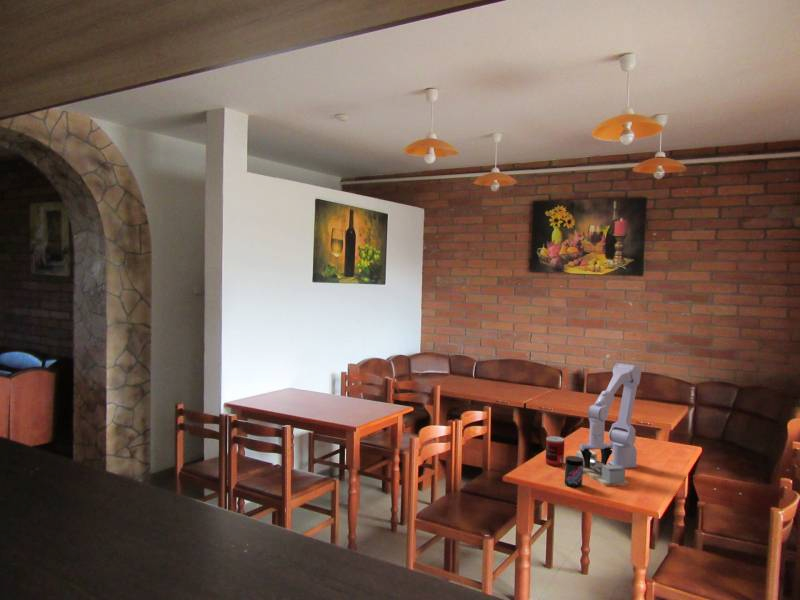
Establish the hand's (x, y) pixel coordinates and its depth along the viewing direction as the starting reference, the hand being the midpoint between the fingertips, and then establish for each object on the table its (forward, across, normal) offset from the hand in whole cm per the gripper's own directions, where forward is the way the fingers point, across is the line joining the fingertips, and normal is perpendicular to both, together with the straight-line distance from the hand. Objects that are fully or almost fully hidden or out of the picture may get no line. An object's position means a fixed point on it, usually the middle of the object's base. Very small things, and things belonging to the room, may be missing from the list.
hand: (595, 466), depth 239 cm
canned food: (+3, +11, -14) cm, 18 cm away
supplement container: (+3, +17, +11) cm, 20 cm away
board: (+3, 0, +2) cm, 3 cm away
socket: (+2, 0, +12) cm, 12 cm away
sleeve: (+3, 0, -7) cm, 7 cm away
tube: (+1, 0, -2) cm, 2 cm away
